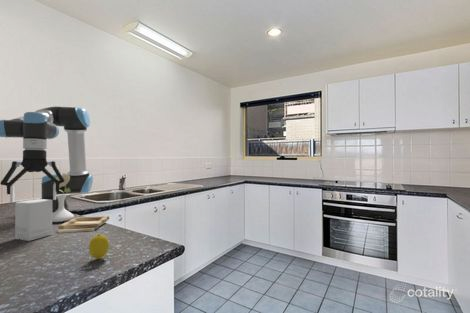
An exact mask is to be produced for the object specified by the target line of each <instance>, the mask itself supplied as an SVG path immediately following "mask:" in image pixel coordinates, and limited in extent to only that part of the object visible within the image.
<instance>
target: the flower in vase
mask: <svg viewBox="0 0 470 313" xmlns="http://www.w3.org/2000/svg"><path fill="white" fill-rule="evenodd" d="M60 174H61V175H62V177H63V178H64V180H65V181H64V182H62V183H60V185H59V187H62V186H65V185H66V184H67V183H68V181H70V176H69V175H67V173H66V172H65V173H64V174H62V173H60ZM56 179H57V180H58V181H59V178H58V177H56ZM54 184H56V183H55V182H54ZM59 191H61V192H63V191H62V190H59ZM64 191H65V192H66V193H68V192H71V191H70V189H69V188H67V189H66V186H65V190H64ZM63 193H64V192H63ZM63 193H62V194H58V195H56V197H57V198H58V202H59V207H58V210H57V211H56V212H54V213H52V223H62V222H67V221H69V220H71V219H73V218H75V214H73V213H72V212H70V211H69V210H66V209H65V208H64V199H66V197H67V195H68V194H63Z"/></svg>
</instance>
